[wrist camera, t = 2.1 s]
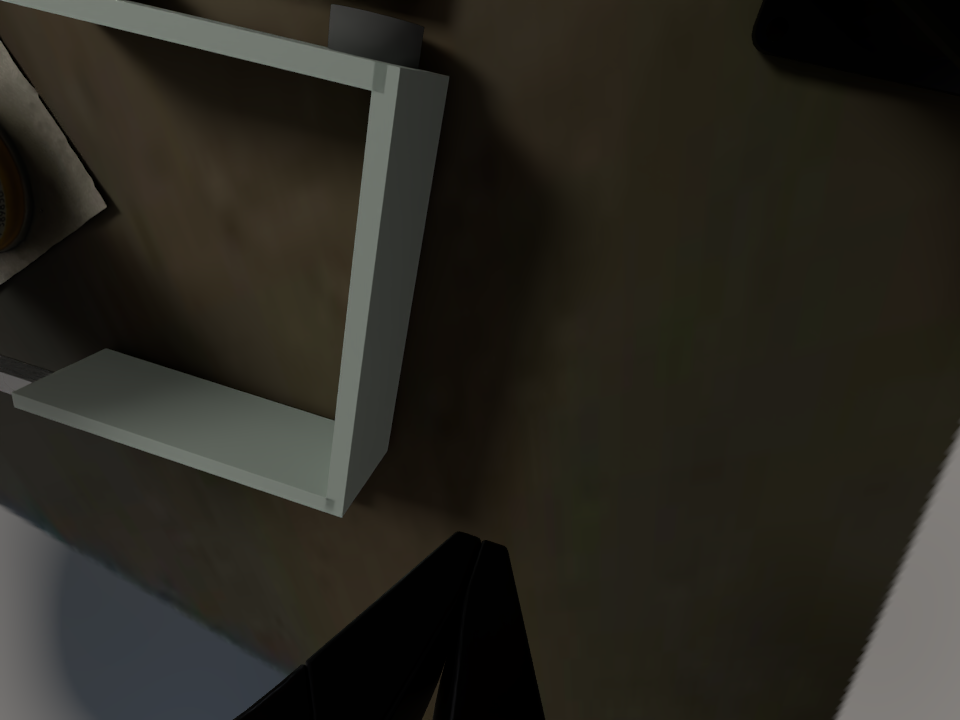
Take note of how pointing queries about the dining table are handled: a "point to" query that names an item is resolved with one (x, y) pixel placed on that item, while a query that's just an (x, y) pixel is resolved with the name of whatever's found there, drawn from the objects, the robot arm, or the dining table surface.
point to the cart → (372, 296)
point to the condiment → (36, 176)
